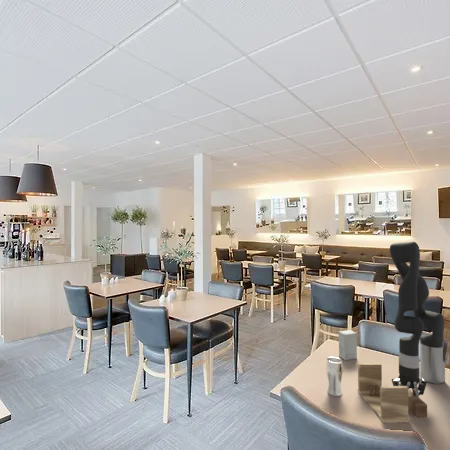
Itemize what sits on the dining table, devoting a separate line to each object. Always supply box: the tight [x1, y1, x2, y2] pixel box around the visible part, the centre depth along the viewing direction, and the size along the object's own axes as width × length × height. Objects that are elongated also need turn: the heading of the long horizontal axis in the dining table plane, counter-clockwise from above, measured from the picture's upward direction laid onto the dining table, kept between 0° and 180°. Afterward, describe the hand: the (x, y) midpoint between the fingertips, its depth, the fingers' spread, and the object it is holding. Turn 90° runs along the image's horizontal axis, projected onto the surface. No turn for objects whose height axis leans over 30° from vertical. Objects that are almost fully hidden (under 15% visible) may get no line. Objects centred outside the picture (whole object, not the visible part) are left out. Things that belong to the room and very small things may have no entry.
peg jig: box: [357, 362, 410, 424], centre depth 127 cm, size 22×10×13 cm, turn 0°
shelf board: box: [399, 383, 428, 418], centre depth 127 cm, size 16×4×5 cm, turn 0°
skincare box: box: [338, 329, 358, 361], centre depth 173 cm, size 8×6×15 cm
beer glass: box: [326, 356, 344, 397], centre depth 137 cm, size 7×7×15 cm
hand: (409, 403), depth 127 cm, fingers closed on shelf board, 4 cm apart
